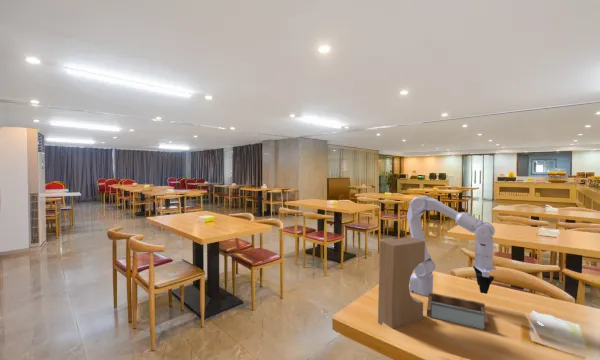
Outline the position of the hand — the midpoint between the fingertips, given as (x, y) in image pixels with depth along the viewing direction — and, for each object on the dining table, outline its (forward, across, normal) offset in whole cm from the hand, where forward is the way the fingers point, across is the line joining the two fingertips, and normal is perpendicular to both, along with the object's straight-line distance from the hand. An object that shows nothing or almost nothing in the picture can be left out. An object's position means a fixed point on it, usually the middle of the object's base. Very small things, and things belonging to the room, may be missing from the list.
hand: (482, 289), depth 107 cm
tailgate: (+8, -15, +9) cm, 19 cm away
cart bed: (+10, -9, +9) cm, 16 cm away
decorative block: (+10, -22, +27) cm, 36 cm away
